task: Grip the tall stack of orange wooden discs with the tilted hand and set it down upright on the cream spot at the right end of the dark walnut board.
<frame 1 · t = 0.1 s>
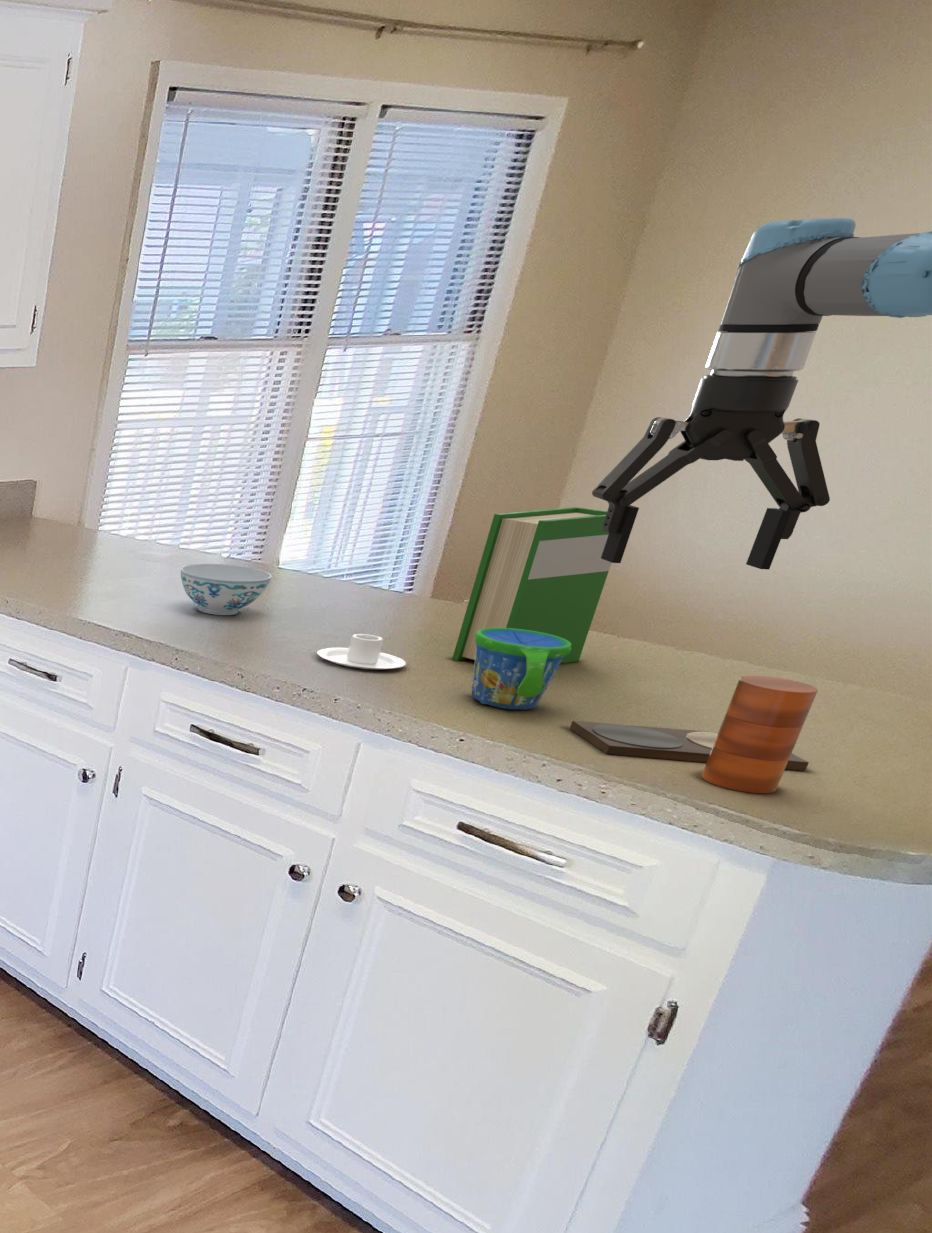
hand: (682, 564, 130), 26 cm above the counter, tool pointing down, fingers open, 13 cm apart
chinaware: (217, 612, 216), on the counter
board: (681, 748, 147), on the counter
snack cup: (502, 704, 164), on the counter
candle holder: (359, 663, 184), on the counter
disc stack: (737, 783, 136), on the counter
hardback book: (514, 661, 184), on the counter
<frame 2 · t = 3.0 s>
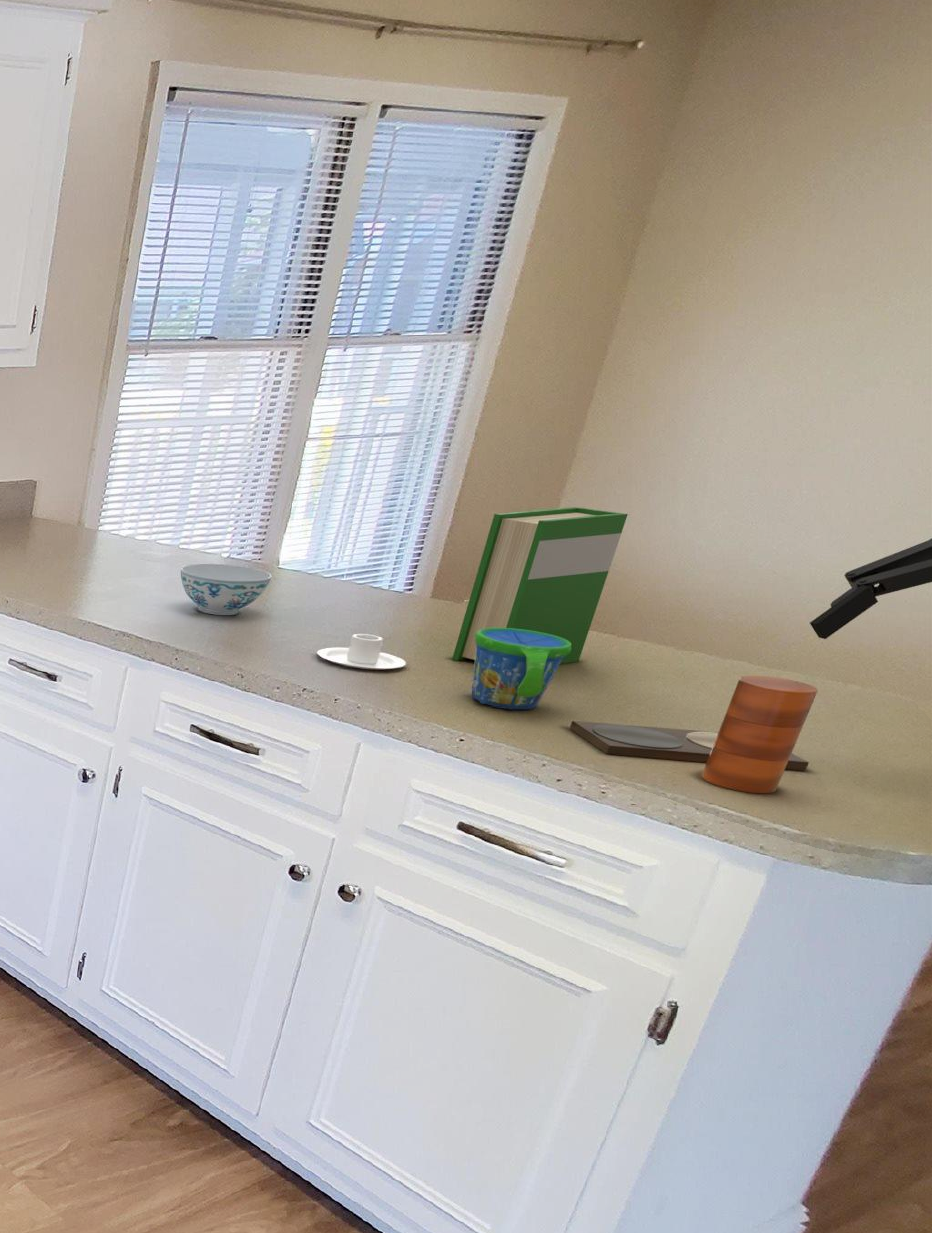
hand: (880, 646, 130), 17 cm above the counter, tool tilted 45°, fingers open, 13 cm apart
nothing on the counter moved.
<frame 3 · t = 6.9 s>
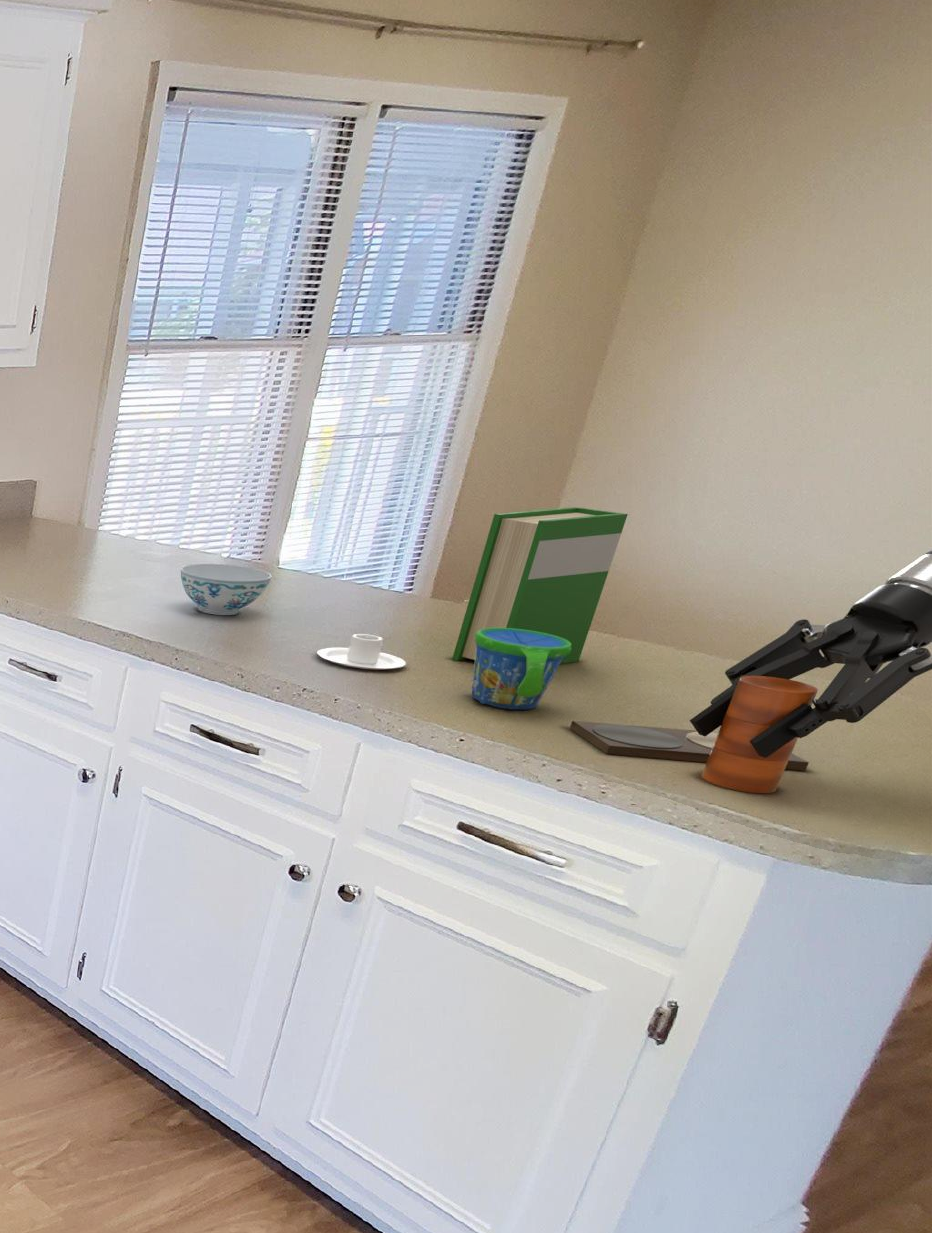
hand: (726, 738, 134), 6 cm above the counter, tool tilted 45°, fingers closed on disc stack, 6 cm apart
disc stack: (738, 783, 136), on the counter, touching gripper
everything else where it was.
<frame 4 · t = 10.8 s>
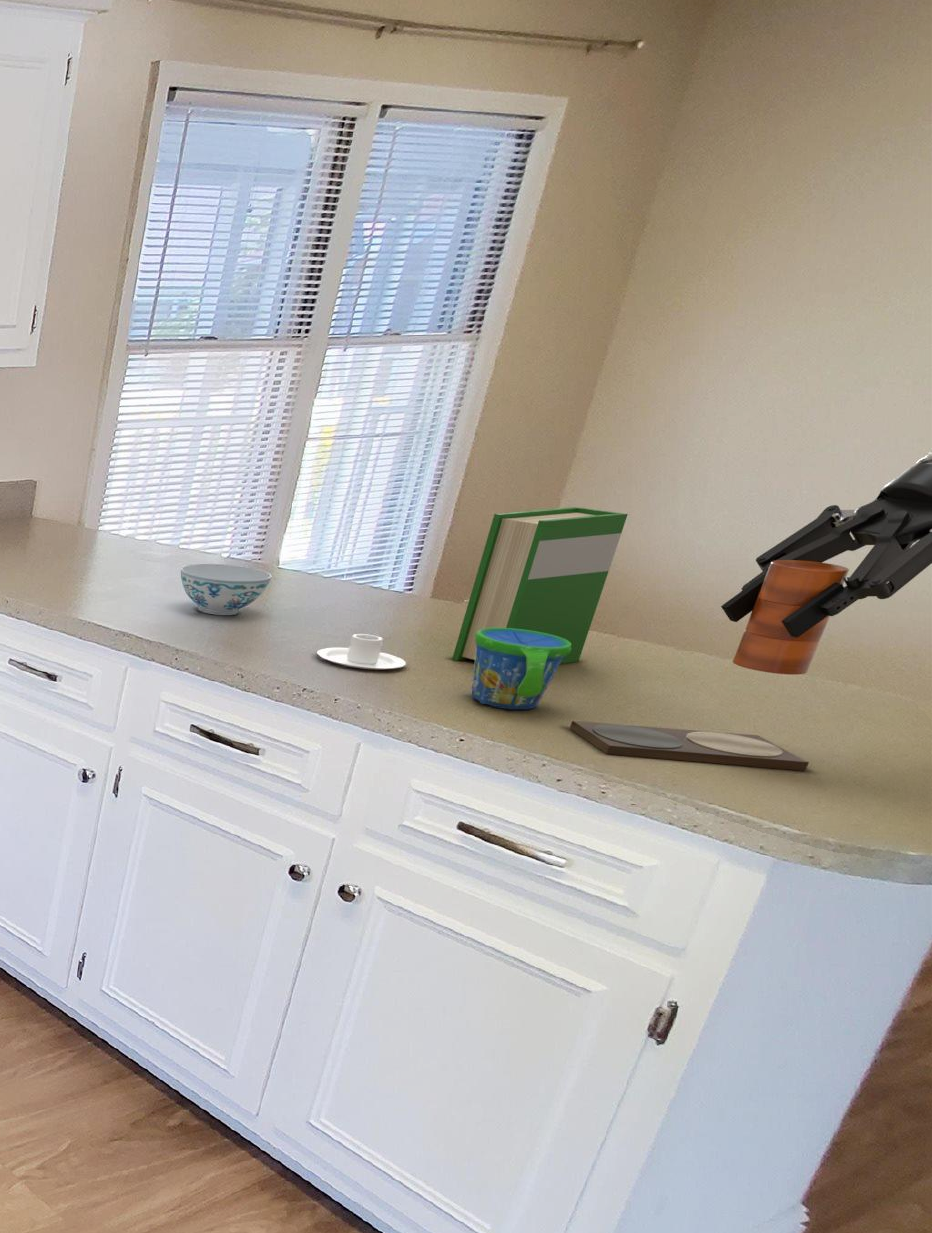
hand: (758, 621, 136), 18 cm above the counter, tool tilted 45°, fingers closed on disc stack, 6 cm apart
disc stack: (769, 666, 138), point 12 cm above the counter, touching gripper
everything else where it was.
when the fingers open (7 cm above the counter, at t = 14.4 s): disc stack stays where it is, resting on board.
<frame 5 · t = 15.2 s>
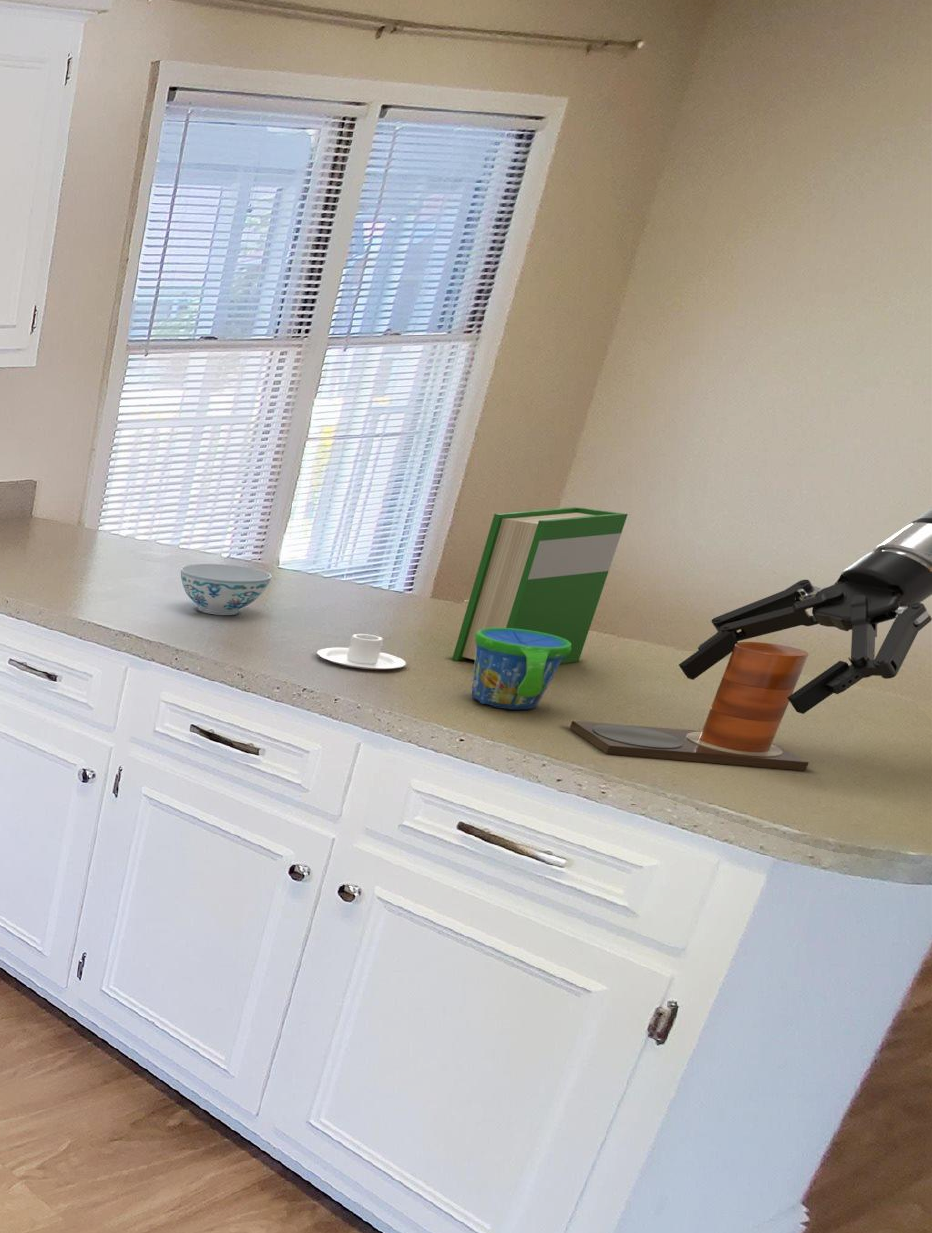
hand: (737, 688, 142), 9 cm above the counter, tool tilted 45°, fingers open, 13 cm apart
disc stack: (733, 743, 145), point 1 cm above the counter, touching board
everything else where it was.
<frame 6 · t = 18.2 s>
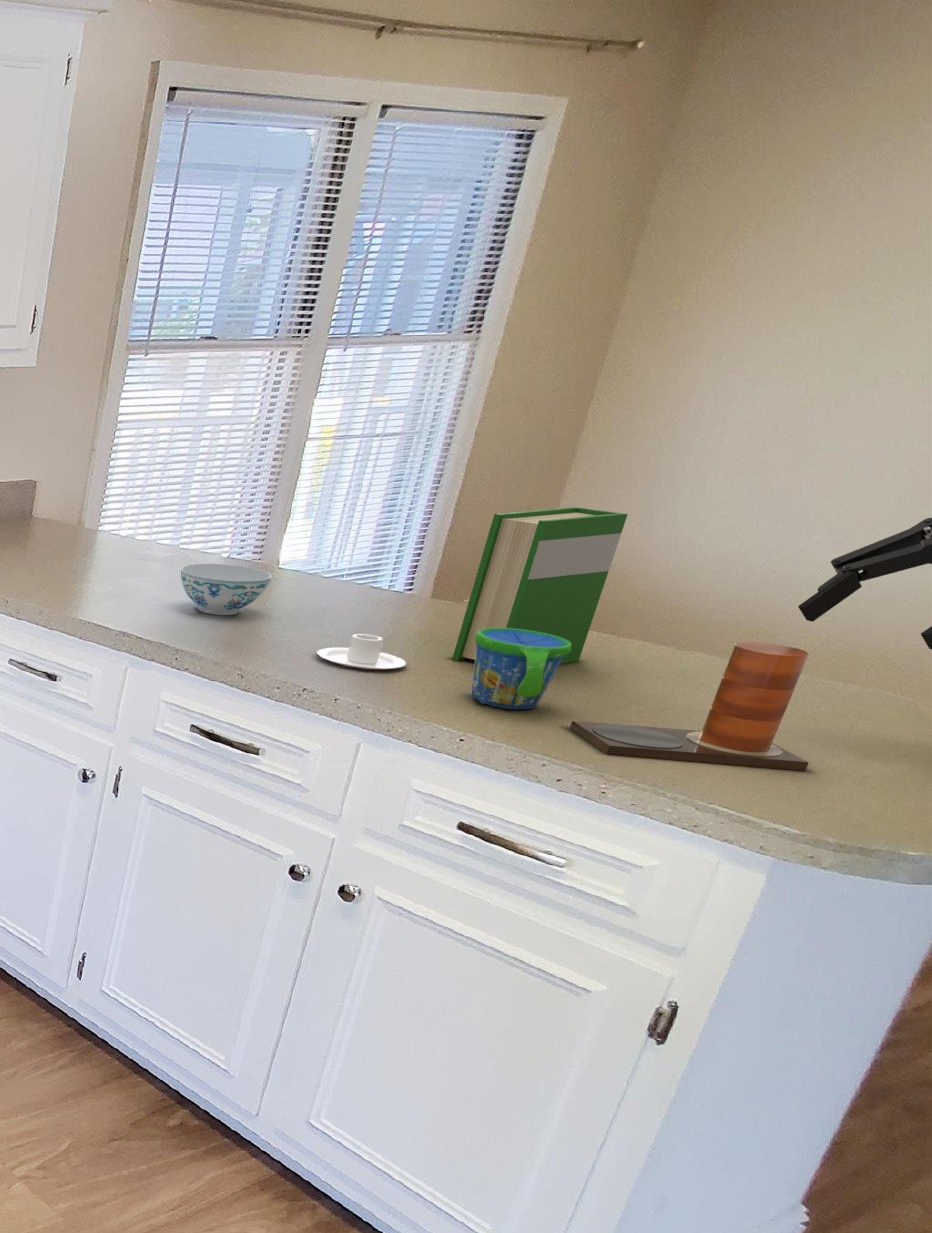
hand: (863, 627, 139), 17 cm above the counter, tool tilted 45°, fingers open, 13 cm apart
nothing on the counter moved.
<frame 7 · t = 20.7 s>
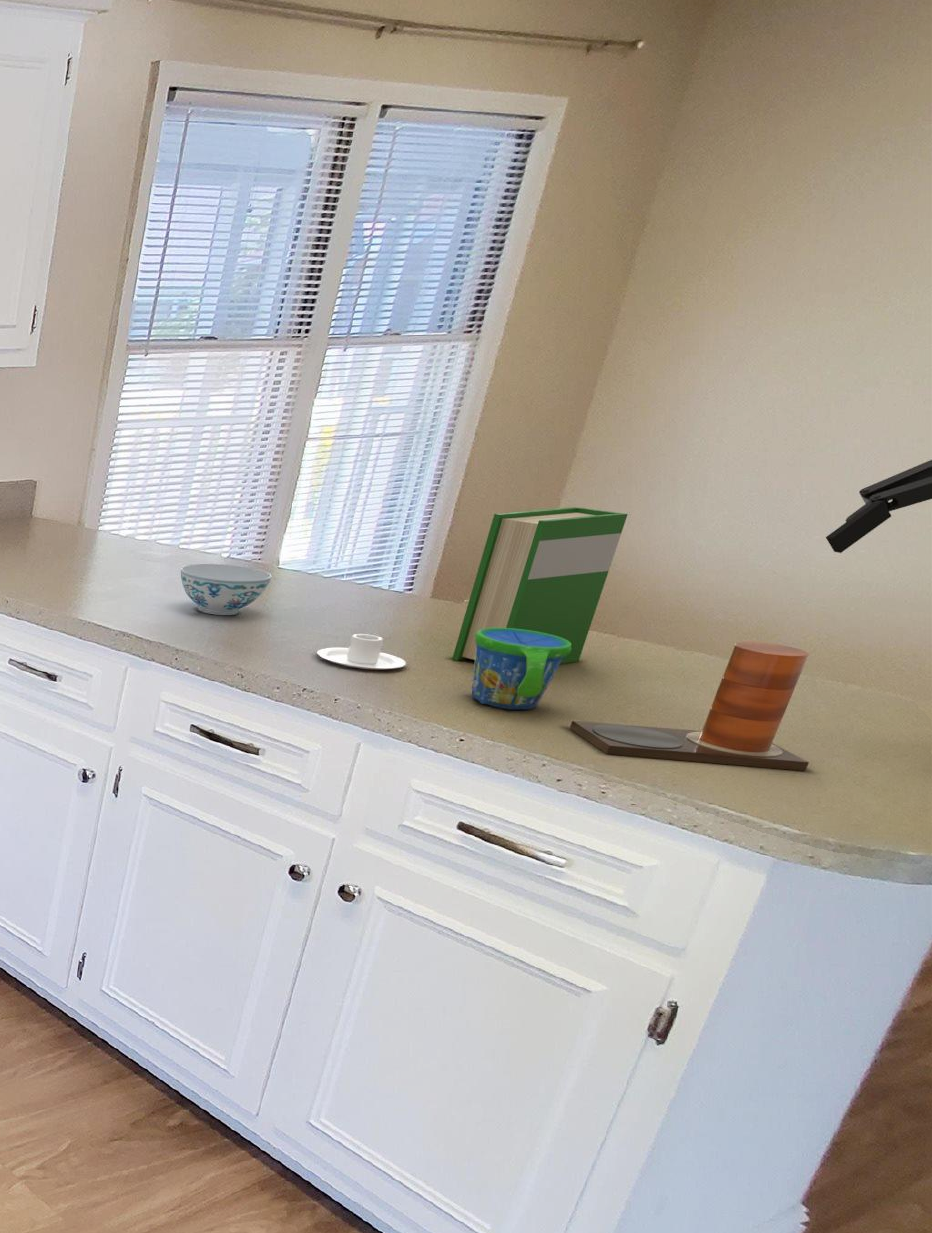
hand: (894, 556, 136), 26 cm above the counter, tool tilted 45°, fingers open, 13 cm apart
nothing on the counter moved.
at the end: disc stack 0.0 cm from the target spot, point 1.3 cm above the counter; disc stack tilted 0°; the gripper is holding nothing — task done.
